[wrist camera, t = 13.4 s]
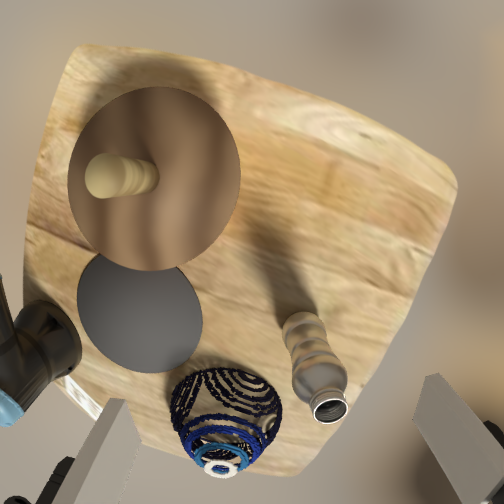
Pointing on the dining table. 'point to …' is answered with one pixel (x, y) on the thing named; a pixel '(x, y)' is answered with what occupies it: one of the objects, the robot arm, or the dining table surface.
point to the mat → (139, 315)
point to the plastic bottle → (315, 367)
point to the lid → (154, 178)
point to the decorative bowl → (204, 449)
